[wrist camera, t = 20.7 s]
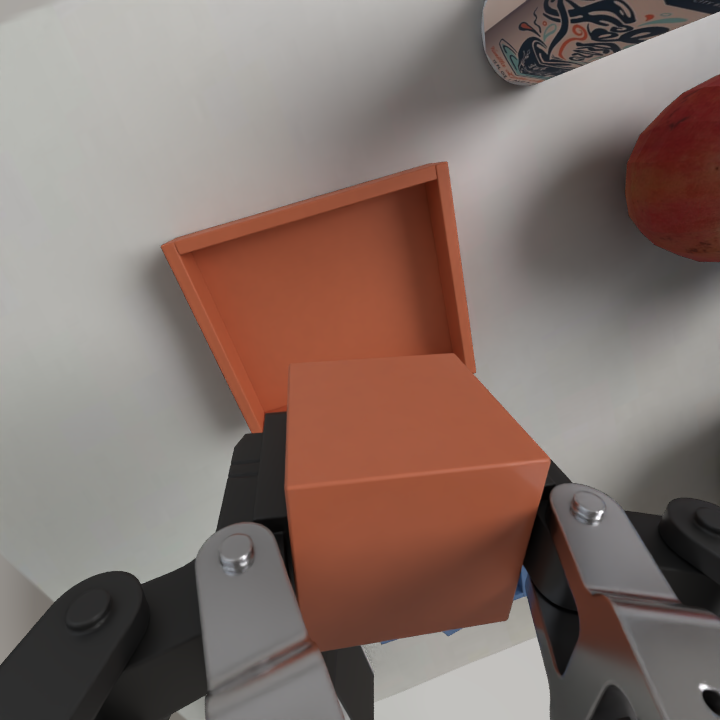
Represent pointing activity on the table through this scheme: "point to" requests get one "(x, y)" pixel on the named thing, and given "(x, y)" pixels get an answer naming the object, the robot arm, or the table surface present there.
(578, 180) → the table surface
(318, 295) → the terracotta tray
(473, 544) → the terracotta block
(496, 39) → the beer can
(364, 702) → the camera
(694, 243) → the fruit
